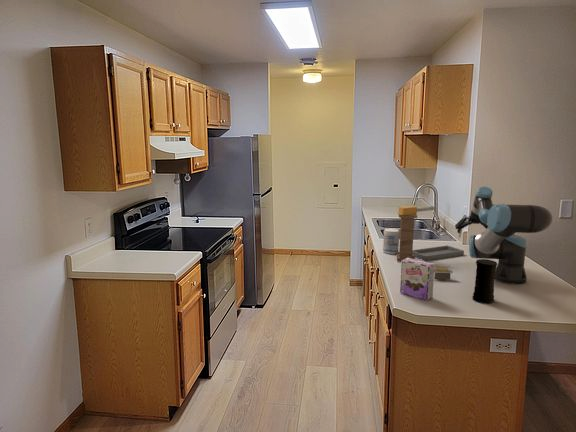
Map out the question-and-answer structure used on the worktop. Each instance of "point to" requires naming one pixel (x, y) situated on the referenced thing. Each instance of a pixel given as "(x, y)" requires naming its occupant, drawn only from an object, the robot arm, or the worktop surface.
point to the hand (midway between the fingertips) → (471, 236)
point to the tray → (437, 253)
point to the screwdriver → (413, 209)
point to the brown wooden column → (406, 236)
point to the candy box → (417, 278)
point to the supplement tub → (391, 241)
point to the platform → (442, 273)
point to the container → (484, 281)
